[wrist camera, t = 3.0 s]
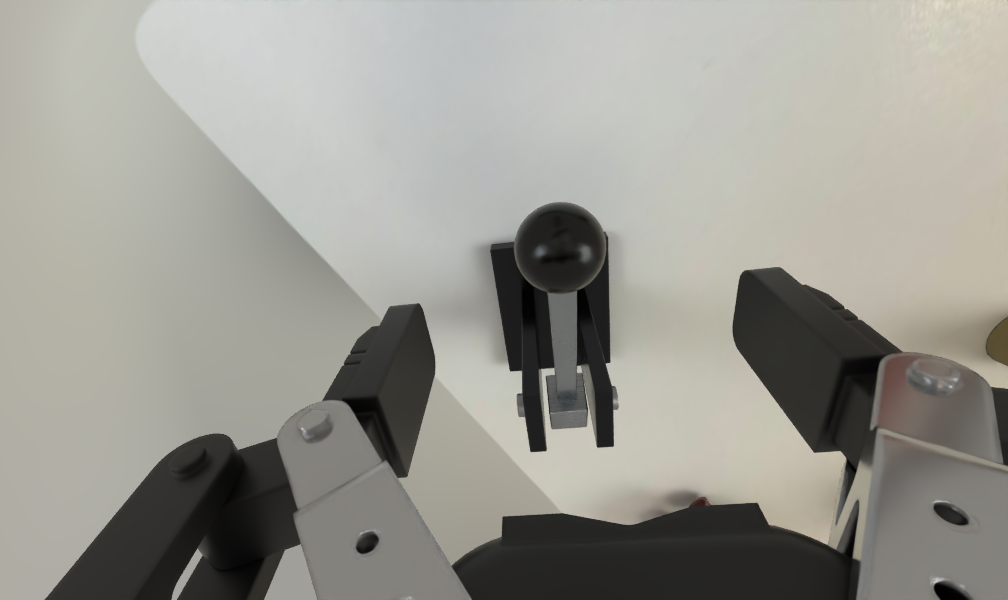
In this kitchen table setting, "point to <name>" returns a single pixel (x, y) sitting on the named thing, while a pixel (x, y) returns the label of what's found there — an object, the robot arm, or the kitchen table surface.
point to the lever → (562, 293)
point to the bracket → (534, 348)
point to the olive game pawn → (999, 343)
